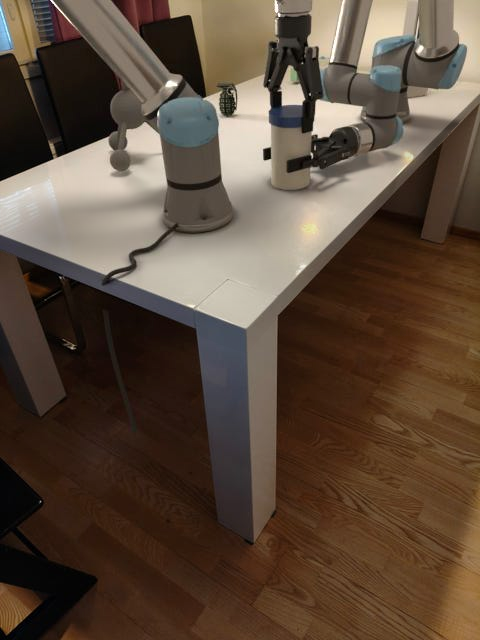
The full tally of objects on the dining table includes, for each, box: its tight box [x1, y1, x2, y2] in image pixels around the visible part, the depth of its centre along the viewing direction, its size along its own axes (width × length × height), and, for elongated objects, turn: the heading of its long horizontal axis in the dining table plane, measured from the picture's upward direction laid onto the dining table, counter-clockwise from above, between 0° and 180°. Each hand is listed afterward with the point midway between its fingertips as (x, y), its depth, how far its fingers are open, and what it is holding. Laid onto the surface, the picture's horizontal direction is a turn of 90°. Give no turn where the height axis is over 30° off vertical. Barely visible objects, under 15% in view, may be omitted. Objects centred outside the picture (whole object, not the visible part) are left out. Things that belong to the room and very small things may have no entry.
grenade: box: [215, 82, 238, 117], centre depth 166 cm, size 7×6×10 cm
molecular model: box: [107, 79, 160, 172], centre depth 131 cm, size 24×22×30 cm
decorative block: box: [290, 56, 330, 83], centre depth 205 cm, size 26×6×20 cm
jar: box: [270, 124, 313, 191], centre depth 115 cm, size 9×9×16 cm
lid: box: [268, 104, 316, 128], centre depth 111 cm, size 10×10×2 cm
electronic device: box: [402, 0, 429, 98], centre depth 170 cm, size 12×8×30 cm, turn 105°
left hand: (291, 126), depth 112 cm, fingers closed on lid, 10 cm apart
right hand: (275, 160), depth 115 cm, fingers closed on jar, 9 cm apart
